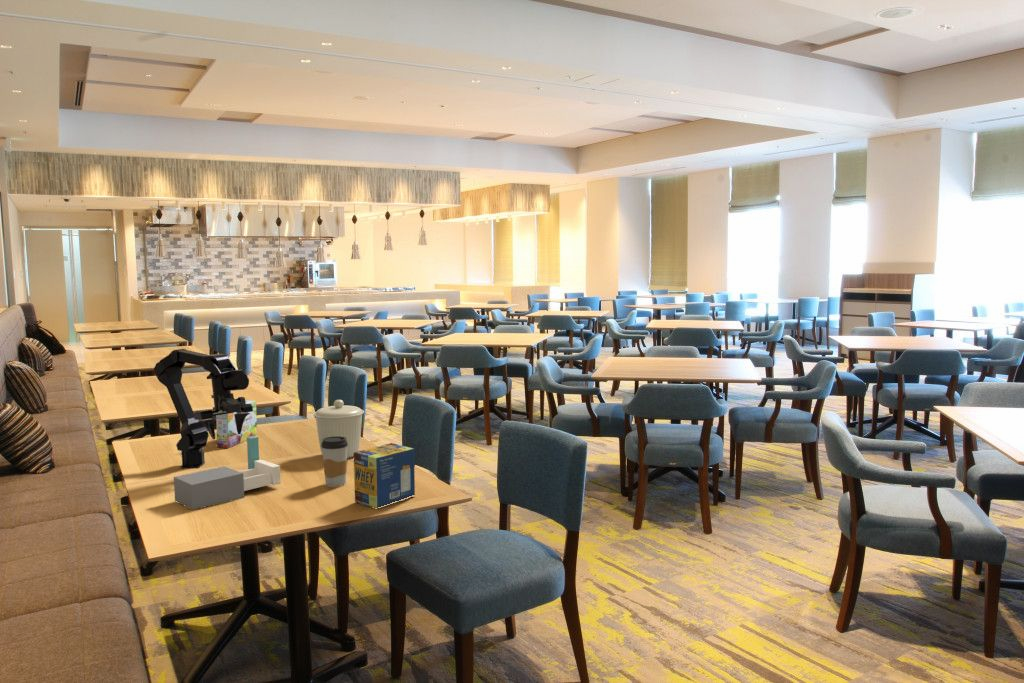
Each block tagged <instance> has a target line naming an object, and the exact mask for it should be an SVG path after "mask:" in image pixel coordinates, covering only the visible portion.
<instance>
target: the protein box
mask: <svg viewBox="0 0 1024 683" xmlns="http://www.w3.org/2000/svg"><path fill="white" fill-rule="evenodd" d="M353 478H354V479H353V480H354V481H353V482H354V502H355V503H356V502H358V503H357V504H359V503H361V504H360V505H362V504H364V505H363V506H365V505H367V506H366V507H368V506H371V507H374V508H378V507H381V506H384V505H387V504H390V503H392V502H395V501H399V500H401V499H404V498H407V497H409V496H412V495H415V496H416V493H415V492H416V486H415V482H416V481H415V448H413V447H408V446H406V445H401V444H397V443H393V442H390V443H386V444H383V445H379V446H376V447H375V446H374V447H370V448H367V449H362V450H359V451H358V452H354V456H353ZM371 507H370V508H371ZM374 508H373V509H374Z"/></svg>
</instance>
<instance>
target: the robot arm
mask: <svg viewBox="0 0 1024 683" xmlns="http://www.w3.org/2000/svg"><path fill="white" fill-rule="evenodd" d="M186 364H190V365H193V366H198V367H202V369H203V370H204V371H206V372H209V374H208V375H207V376H206V380H211V387H212V394H211V395H210V396H211V397H210V398H211V399H213V407H212V409H203V410H196V411H194V410H193V408H192V406H191V403H190V401H189V399H188V395H187V394H186V390H185V389H184V386H183V384H182V378H183V372H182V371H183V370H182V369H183V368H184V367H185V365H186ZM153 371H154V374H155V377H156V378H157V380H158V382H159V383H160V384H162V385H163V386H164V387H166V389H167V392H168V394H169V397H170V398H171V401H172V404H173V406H174V408H175V411H176V413H177V415H178V418H179V421H180V424H181V427H180V431H179V432H180V439H179V440H178V441H177V443H176V444H175V446H176V450H177V451H178V452H179V451H181V465H180V468H181V467H188V468H200V467H201V466H202V465H204V464H205V463H206V461H205V451H203V450H204V449H203V447H207V443H208V439H209V435H210V437H211V438H212V440H216V433H215V431H216V430H215V426H214V422H215V419H214V418H213V417H216V415H222V414H228V413H234V412H237V414H234V416H235V422H236V428H237V432H238V434H241V430H242V426H243V422H244V420H245V418H246V416H247V415H249V414H250V413H248V412H252V411H253V406H252V405H251V404H246V401H247V400H246V397H244V396H239V397H237V398H235V397H234V393H233V392H232V391H245V390H246V389H247V388H248V387H249V385H250V378H249V376H248V375H247V374H246V373H244V370H243V369H238V368H237V367H236V366H235V364H234V363H233V361H232V360H231V359H230V358H229V355H228V354H226V353H215V354H208V353H207V354H206V353H203V352H197V351H193V350H188V349H185V348H177V349H173V350H171V352H170V353H169V354H167V355H166V356H165V357H163V358H161V359H160V360H159V361H158V362H157V363H155V366H154V368H153ZM221 410H222V411H221Z"/></svg>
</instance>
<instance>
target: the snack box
mask: <svg viewBox="0 0 1024 683" xmlns="http://www.w3.org/2000/svg"><path fill="white" fill-rule="evenodd" d="M245 401H246V404H251V405H252V406H253V411H252V412H248V413H250V414H249V415H247V416H246V418H245V420H244V422H243V426H242V430H241V434H238V432H237V428H236V422H235V416H234V414H237V412H234V413H228V414H222V415H216V416H215V417H216V418H215V420H216V448H221V449H230V448H232V447H234V446H237V445H239V444H241V442H242V443H244V442H247V437H251V436H256V435H257V436H258V426H257V425H258V424H257V422H258V419H257V401H256V400H245ZM221 411H222V410H221ZM257 436H256V437H257Z"/></svg>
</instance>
